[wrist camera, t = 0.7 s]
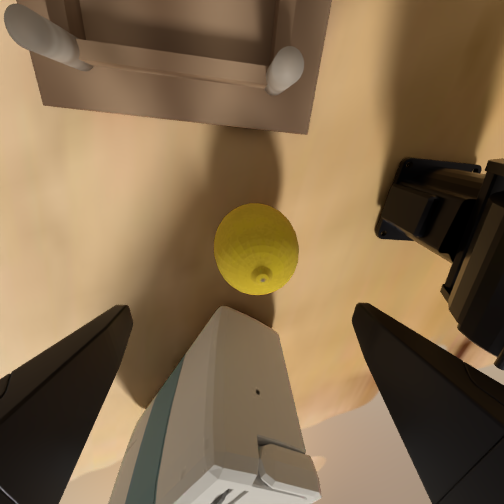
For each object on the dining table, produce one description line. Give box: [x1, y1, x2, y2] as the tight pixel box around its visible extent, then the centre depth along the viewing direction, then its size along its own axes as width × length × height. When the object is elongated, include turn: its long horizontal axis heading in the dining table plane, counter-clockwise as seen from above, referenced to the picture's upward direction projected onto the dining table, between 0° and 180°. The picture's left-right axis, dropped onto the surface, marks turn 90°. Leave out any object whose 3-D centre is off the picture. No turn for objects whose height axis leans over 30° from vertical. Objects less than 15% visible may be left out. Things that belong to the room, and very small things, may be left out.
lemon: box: [214, 203, 299, 295], centre depth 16 cm, size 6×6×8 cm
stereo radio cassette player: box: [108, 306, 322, 504], centre depth 18 cm, size 21×8×20 cm, turn 147°
